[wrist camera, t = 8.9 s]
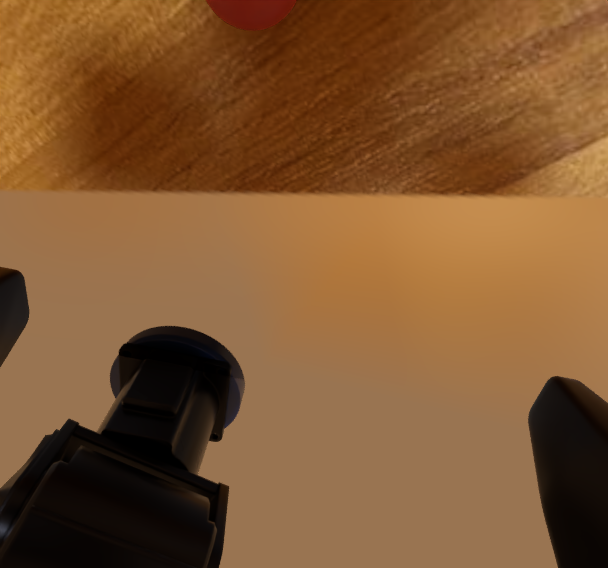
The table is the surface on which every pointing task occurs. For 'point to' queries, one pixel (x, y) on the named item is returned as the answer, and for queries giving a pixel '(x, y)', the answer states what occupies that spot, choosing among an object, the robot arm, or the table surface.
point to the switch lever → (252, 12)
